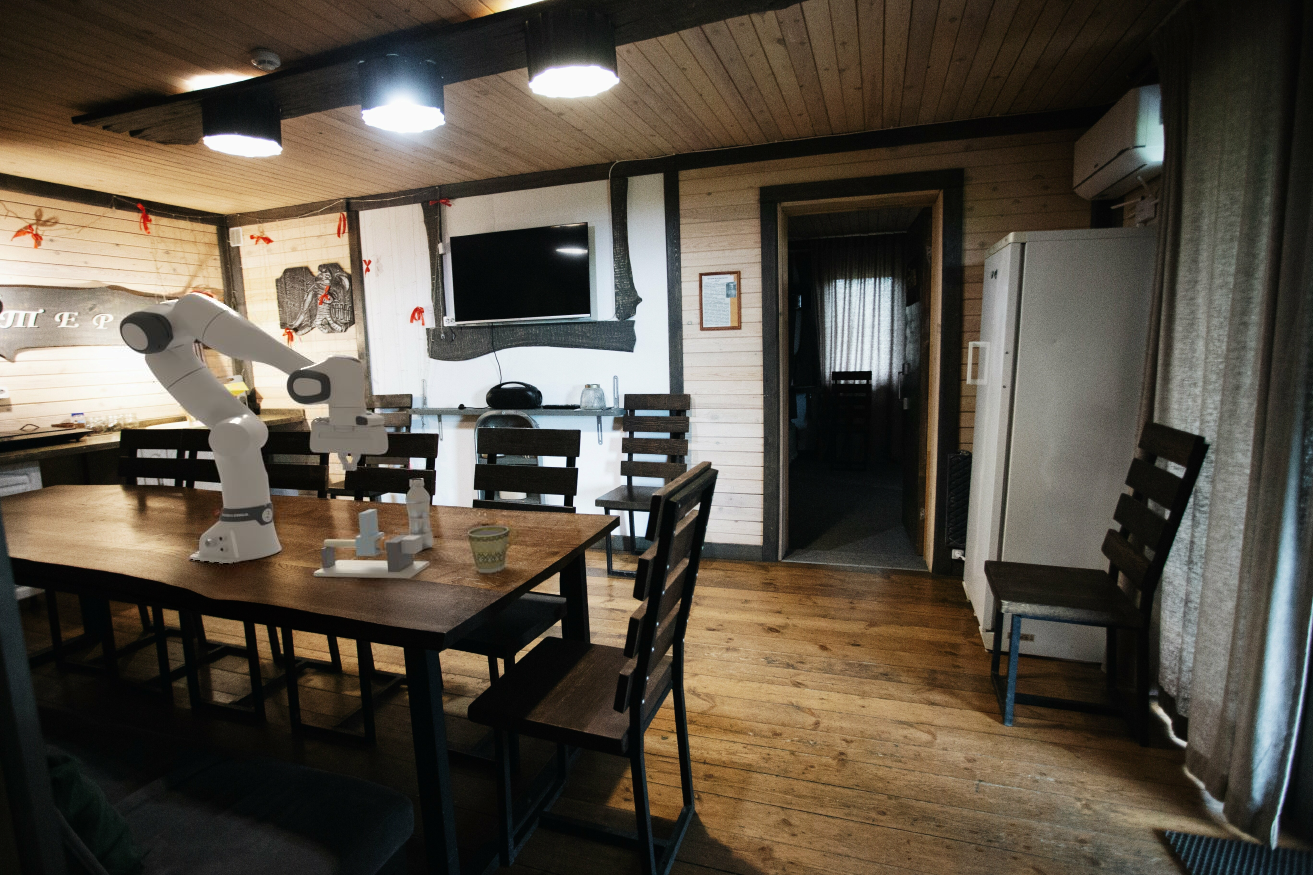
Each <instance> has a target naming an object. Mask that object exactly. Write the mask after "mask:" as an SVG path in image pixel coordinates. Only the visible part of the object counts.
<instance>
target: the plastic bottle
mask: <svg viewBox="0 0 1313 875" xmlns="http://www.w3.org/2000/svg"><path fill="white" fill-rule="evenodd" d="M424 486H425V482H424V478H420V477H419V478H411V479H409V487H410V489H409V490H408V491H407V494H406V495H405V506H406V508H407V514H408V523H409V525H408V526H409V533H408V535H412V536H422V550H423V551H424V550H426V549H430V548H431V547H432V546H433V544H434V535H433V532H432V527H431V521H430V520H431V519H430V505H431V504H430V503H431V496H430V493H429V492H428V491H427V490H426V489H425V487H424ZM422 550H421V551H422Z"/></svg>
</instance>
